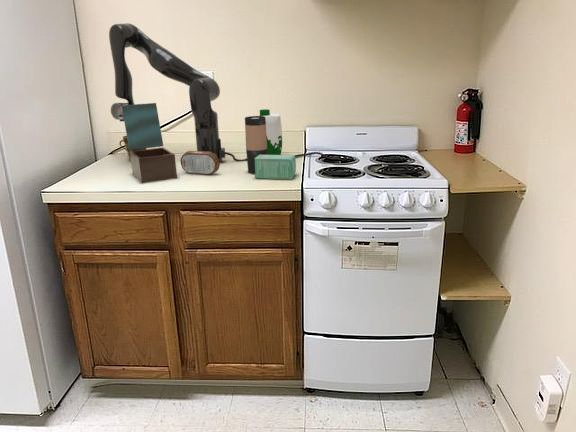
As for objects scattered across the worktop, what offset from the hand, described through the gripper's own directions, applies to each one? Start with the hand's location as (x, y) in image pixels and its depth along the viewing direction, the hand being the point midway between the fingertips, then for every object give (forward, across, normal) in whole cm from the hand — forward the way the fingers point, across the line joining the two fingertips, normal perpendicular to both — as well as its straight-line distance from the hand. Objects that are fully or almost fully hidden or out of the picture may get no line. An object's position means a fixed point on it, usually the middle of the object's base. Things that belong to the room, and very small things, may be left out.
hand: (140, 119), depth 187 cm
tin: (+19, +16, +20) cm, 32 cm away
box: (+39, +37, +20) cm, 57 cm away
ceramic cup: (-21, 0, +20) cm, 29 cm away
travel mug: (+28, +35, +20) cm, 49 cm away
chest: (+13, 0, +20) cm, 23 cm away
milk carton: (+10, +50, +20) cm, 54 cm away
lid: (+3, 0, +2) cm, 4 cm away
